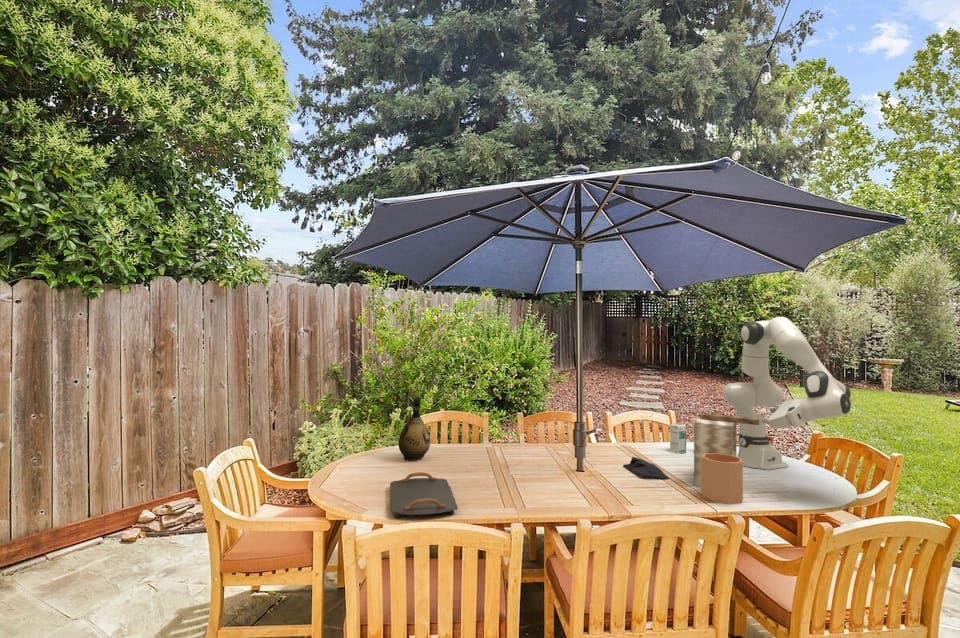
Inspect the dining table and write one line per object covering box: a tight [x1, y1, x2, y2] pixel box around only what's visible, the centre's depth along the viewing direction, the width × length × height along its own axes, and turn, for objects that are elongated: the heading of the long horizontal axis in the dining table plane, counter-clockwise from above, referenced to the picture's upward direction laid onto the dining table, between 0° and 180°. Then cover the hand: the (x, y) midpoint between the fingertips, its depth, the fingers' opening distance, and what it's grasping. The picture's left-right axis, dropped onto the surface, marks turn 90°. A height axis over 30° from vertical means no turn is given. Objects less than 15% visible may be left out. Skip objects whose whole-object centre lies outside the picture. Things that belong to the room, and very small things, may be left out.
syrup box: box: [669, 423, 687, 455], centre depth 258 cm, size 6×6×14 cm
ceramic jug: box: [398, 395, 431, 462], centre depth 242 cm, size 17×15×30 cm
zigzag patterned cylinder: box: [693, 416, 738, 487], centre depth 209 cm, size 14×22×26 cm, turn 148°
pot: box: [700, 453, 744, 505], centre depth 190 cm, size 14×14×15 cm
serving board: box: [389, 471, 459, 520], centre depth 183 cm, size 39×23×6 cm, turn 11°
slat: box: [699, 412, 759, 425], centre depth 207 cm, size 22×4×2 cm, turn 58°
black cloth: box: [622, 456, 670, 480], centre depth 222 cm, size 15×22×5 cm
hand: (766, 415), depth 202 cm, fingers open, 8 cm apart
